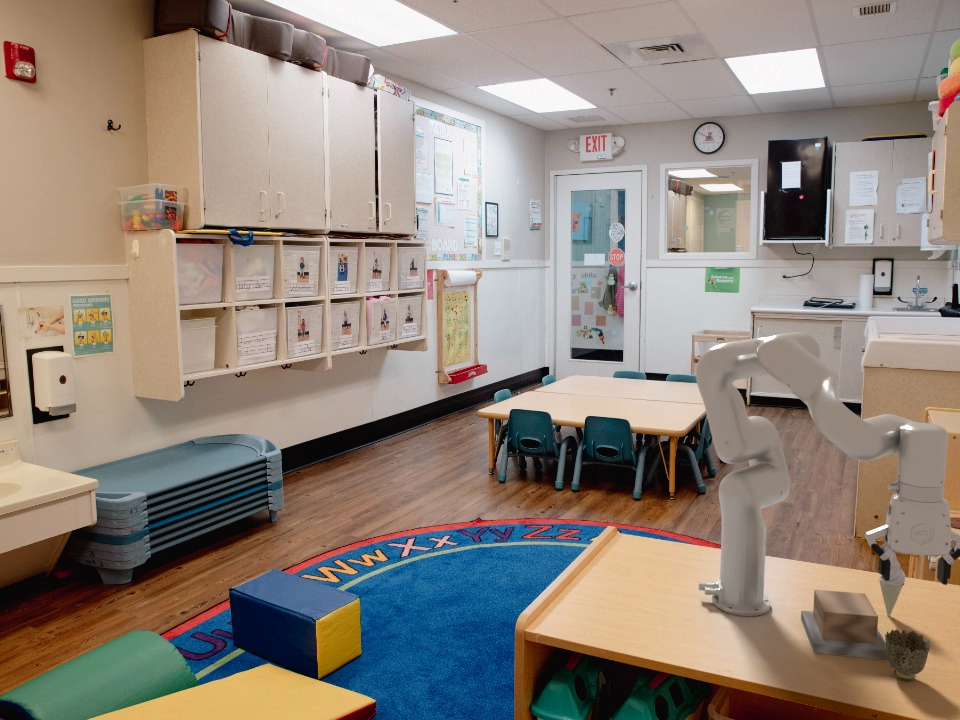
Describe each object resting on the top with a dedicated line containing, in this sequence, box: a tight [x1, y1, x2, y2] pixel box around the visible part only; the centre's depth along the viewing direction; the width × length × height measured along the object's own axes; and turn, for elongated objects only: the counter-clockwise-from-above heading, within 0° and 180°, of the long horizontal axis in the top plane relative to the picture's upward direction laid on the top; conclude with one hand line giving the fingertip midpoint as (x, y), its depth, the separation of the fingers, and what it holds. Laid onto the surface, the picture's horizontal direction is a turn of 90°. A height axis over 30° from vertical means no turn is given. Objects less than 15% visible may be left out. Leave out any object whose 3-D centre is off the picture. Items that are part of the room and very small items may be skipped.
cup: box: [884, 628, 931, 682], centre depth 148 cm, size 8×7×8 cm
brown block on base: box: [800, 589, 888, 661], centre depth 162 cm, size 14×14×8 cm
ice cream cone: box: [878, 552, 906, 617], centre depth 170 cm, size 5×5×15 cm
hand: (913, 579), depth 145 cm, fingers open, 9 cm apart
